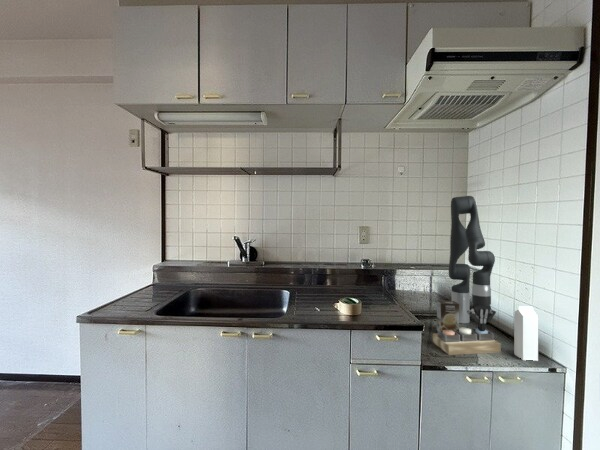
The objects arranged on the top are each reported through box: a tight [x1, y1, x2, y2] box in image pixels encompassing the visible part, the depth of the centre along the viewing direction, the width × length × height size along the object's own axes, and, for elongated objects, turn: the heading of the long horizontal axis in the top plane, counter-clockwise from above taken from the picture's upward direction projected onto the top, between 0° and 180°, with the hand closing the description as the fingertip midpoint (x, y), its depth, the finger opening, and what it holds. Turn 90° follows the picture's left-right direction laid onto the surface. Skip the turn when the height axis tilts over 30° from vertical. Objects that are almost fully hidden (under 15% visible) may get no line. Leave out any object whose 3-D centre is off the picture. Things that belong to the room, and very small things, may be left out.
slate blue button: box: [474, 328, 489, 334], centre depth 140 cm, size 5×5×2 cm
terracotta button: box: [443, 330, 455, 335], centre depth 139 cm, size 5×5×2 cm
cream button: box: [459, 326, 472, 335], centre depth 139 cm, size 5×5×2 cm
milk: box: [513, 305, 539, 362], centre depth 128 cm, size 6×6×22 cm
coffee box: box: [436, 299, 460, 332], centre depth 158 cm, size 9×6×16 cm
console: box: [432, 328, 502, 356], centre depth 140 cm, size 14×24×7 cm, turn 94°
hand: (481, 330), depth 140 cm, fingers closed
